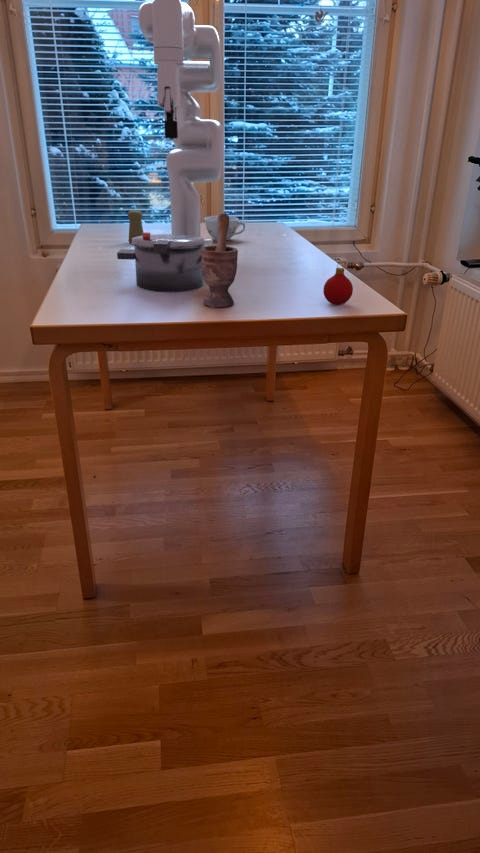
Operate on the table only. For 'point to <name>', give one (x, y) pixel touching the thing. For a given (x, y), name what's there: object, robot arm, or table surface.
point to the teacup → (233, 225)
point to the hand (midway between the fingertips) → (171, 137)
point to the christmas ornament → (338, 288)
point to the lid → (167, 241)
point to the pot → (166, 268)
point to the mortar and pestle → (219, 267)
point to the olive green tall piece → (135, 224)
